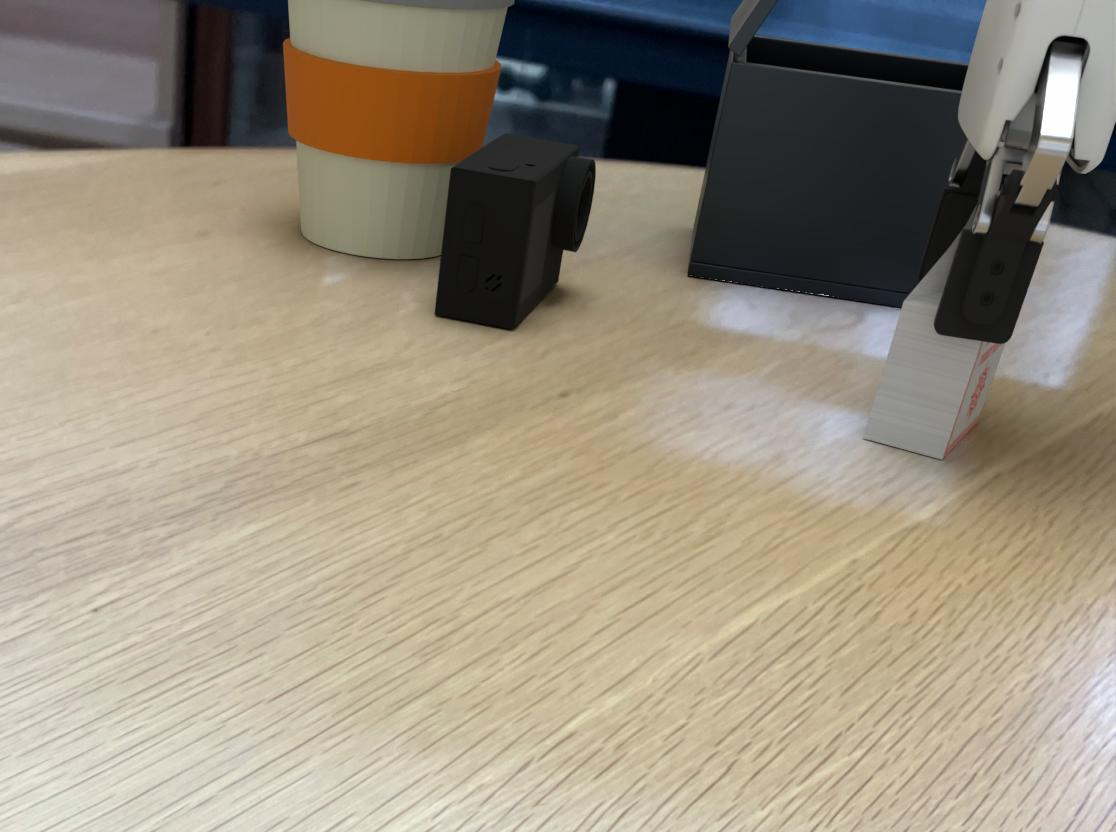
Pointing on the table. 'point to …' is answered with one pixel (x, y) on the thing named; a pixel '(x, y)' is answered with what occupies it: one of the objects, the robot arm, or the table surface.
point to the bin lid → (747, 22)
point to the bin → (826, 169)
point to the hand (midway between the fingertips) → (960, 308)
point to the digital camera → (511, 227)
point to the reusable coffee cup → (386, 115)
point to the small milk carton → (931, 375)
